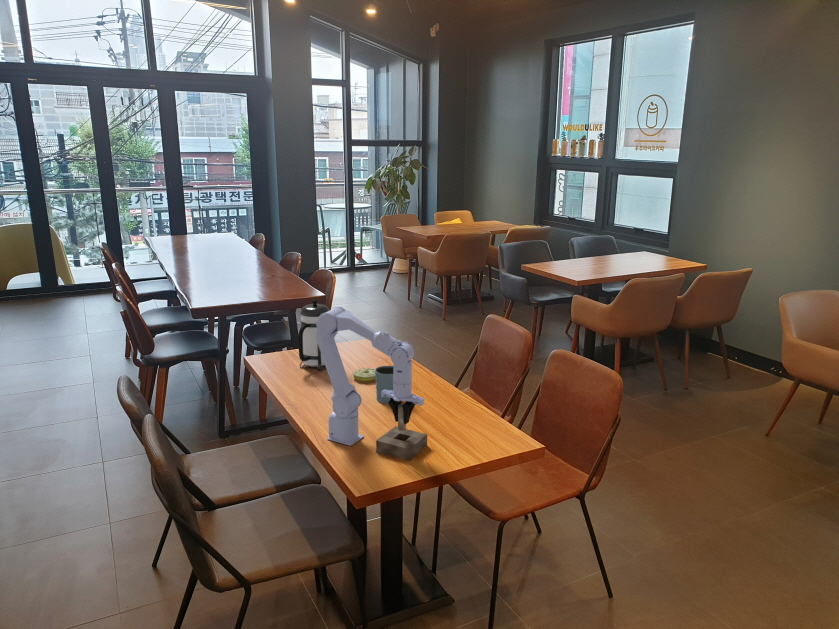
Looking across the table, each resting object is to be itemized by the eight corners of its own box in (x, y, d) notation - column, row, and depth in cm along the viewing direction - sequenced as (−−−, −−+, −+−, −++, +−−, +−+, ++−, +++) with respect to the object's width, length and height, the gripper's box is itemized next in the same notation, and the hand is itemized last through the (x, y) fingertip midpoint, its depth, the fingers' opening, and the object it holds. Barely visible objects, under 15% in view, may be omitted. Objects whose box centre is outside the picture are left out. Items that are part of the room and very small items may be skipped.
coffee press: (294, 362, 282) (292, 296, 274) (330, 359, 287) (329, 294, 279) (299, 375, 266) (297, 306, 258) (337, 371, 271) (336, 303, 263)
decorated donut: (383, 377, 266) (383, 368, 265) (372, 385, 257) (372, 376, 256) (361, 373, 270) (361, 365, 269) (349, 381, 260) (349, 373, 259)
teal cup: (370, 400, 241) (369, 371, 237) (383, 392, 249) (383, 363, 246) (393, 406, 236) (393, 376, 233) (406, 397, 245) (406, 368, 242)
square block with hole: (376, 451, 201) (376, 440, 200) (395, 437, 211) (395, 426, 210) (409, 460, 195) (409, 449, 194) (427, 445, 206) (427, 434, 204)
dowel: (396, 429, 201) (396, 406, 199) (400, 426, 203) (400, 403, 201) (403, 431, 200) (403, 407, 197) (407, 428, 202) (407, 405, 200)
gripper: (376, 381, 197) (376, 421, 201) (416, 390, 190) (416, 431, 194) (387, 374, 203) (387, 413, 207) (427, 382, 196) (426, 423, 200)
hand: (402, 421), depth 201 cm, fingers closed on dowel, 3 cm apart
